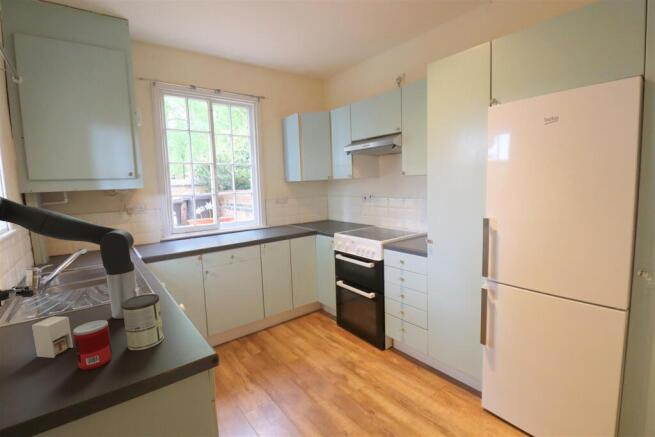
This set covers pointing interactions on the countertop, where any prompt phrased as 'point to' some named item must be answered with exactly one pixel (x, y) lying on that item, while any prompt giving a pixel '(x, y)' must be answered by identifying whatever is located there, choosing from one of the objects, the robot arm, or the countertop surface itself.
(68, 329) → the cover
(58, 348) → the letter block
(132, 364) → the countertop surface
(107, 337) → the canned food
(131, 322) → the coffee can
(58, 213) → the robot arm
